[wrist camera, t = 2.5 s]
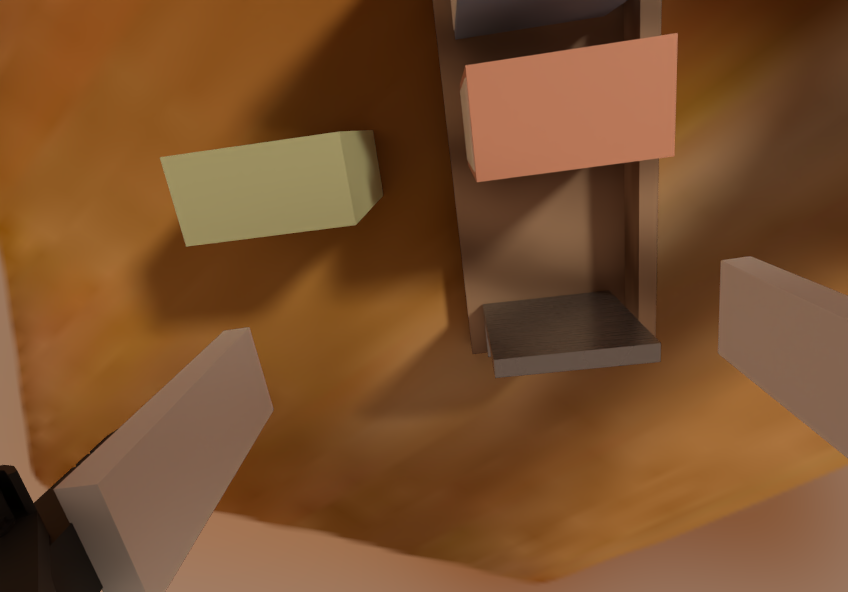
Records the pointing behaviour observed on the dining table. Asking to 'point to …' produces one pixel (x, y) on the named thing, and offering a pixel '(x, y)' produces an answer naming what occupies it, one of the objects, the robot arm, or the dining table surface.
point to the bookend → (565, 335)
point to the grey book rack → (551, 190)
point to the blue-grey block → (521, 14)
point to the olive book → (274, 187)
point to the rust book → (571, 108)
